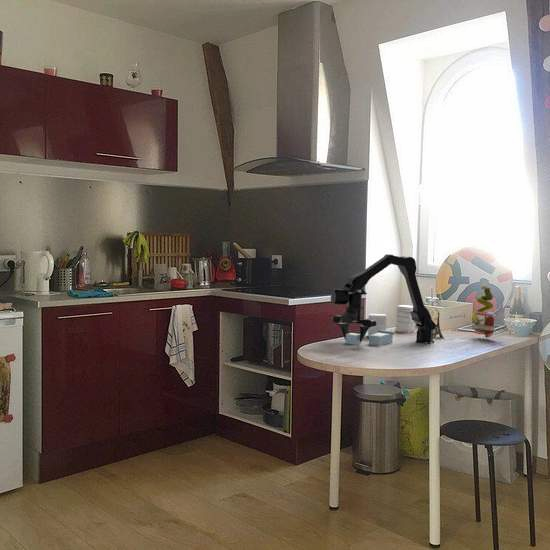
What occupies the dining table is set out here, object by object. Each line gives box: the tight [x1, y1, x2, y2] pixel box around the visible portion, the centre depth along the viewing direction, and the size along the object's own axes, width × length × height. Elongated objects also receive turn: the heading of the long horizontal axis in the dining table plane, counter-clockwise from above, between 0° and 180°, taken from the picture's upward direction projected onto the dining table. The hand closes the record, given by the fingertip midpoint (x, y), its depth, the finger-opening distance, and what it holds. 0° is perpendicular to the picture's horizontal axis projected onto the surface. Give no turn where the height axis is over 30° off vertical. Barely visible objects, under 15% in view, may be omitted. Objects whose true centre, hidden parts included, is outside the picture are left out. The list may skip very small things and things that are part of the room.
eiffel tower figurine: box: [433, 312, 454, 341], centre depth 299 cm, size 15×10×13 cm
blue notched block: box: [368, 330, 396, 347], centre depth 279 cm, size 7×13×5 cm, turn 144°
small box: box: [367, 313, 387, 338], centre depth 295 cm, size 8×6×10 cm
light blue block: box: [344, 332, 362, 346], centre depth 276 cm, size 5×5×4 cm
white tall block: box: [395, 304, 416, 334], centre depth 316 cm, size 7×7×13 cm
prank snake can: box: [471, 284, 495, 338], centre depth 300 cm, size 12×10×25 cm
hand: (353, 340), depth 276 cm, fingers open, 7 cm apart
